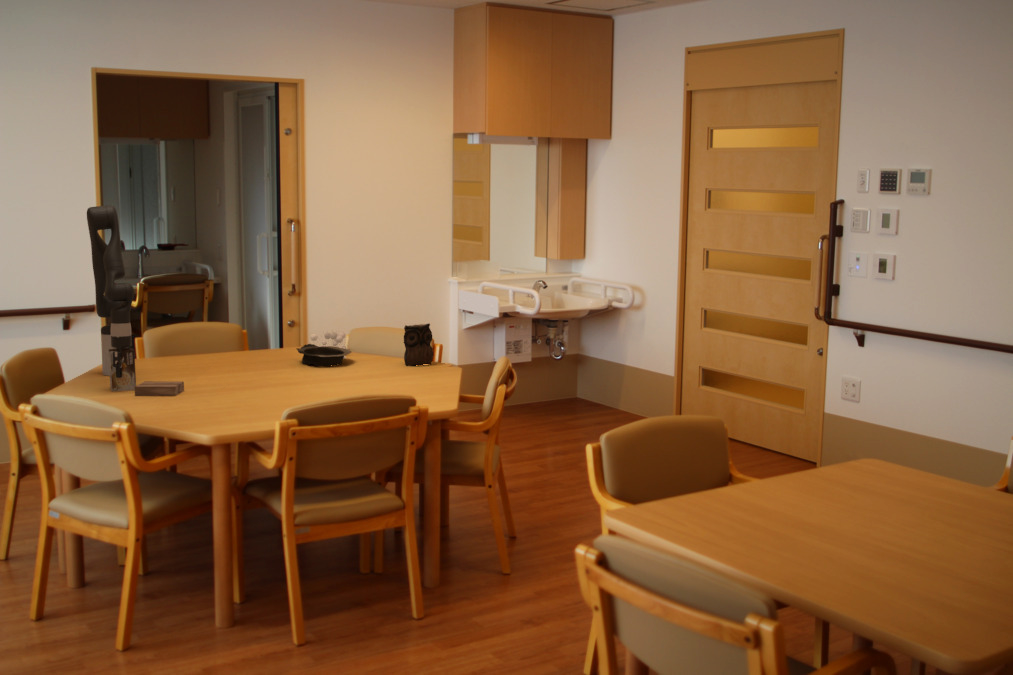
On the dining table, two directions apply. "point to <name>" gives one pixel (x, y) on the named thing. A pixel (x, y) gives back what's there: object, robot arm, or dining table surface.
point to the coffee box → (123, 371)
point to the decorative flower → (332, 336)
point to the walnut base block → (159, 388)
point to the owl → (418, 345)
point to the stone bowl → (322, 355)
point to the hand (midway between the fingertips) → (122, 375)
